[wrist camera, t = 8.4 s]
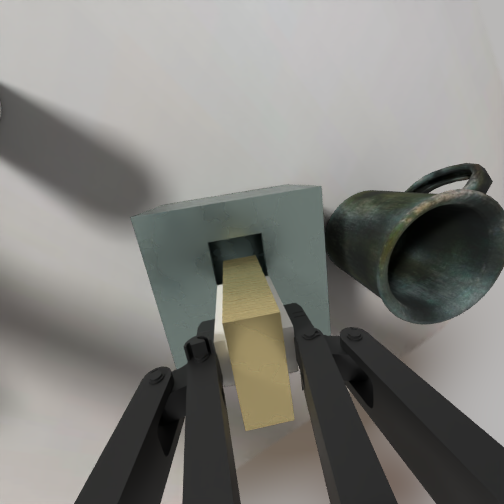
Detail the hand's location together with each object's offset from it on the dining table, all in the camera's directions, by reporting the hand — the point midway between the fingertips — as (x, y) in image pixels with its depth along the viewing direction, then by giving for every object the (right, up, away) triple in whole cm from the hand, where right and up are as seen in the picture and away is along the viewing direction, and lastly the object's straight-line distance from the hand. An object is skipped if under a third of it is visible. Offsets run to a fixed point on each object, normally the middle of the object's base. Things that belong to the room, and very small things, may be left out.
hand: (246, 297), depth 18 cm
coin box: (-1, +3, +11) cm, 12 cm away
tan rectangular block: (0, 0, 0) cm, 0 cm away
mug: (+15, +7, +12) cm, 21 cm away
